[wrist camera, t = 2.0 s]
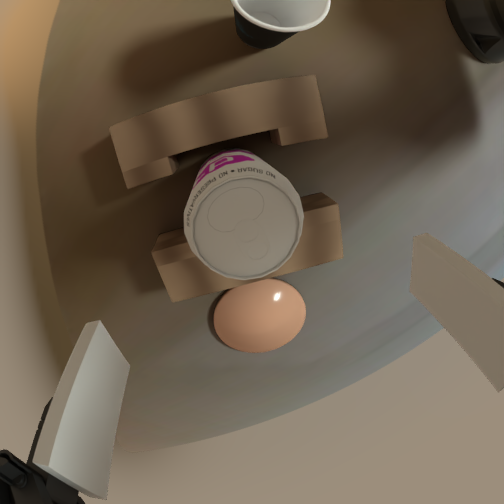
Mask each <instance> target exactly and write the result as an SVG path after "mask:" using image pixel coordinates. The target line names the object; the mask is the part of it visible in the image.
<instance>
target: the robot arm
mask: <svg viewBox="0 0 504 504" xmlns="http://www.w3.org/2000/svg"><path fill="white" fill-rule="evenodd" d="M446 5H447V9H448V13H449V16H450V18H451V21H452V23H453V25H454V27H455V29H456V31H457V33H458V35H459V36H460V38H461V40H462V41H463V43H464V44H465V45H466V47H467V48H468V49H469V50H470V52H471V53H472V54H473V55H474V56H475V57H477V58H478V59H479V60H481V61H482V62H485V63H500V62H503V61H504V0H446ZM410 292H411V293H412V294H413V295H414V296H415V297H416V298H417V299H418V300H419V301H420V302H421V303H422V304H423V305H424V306H425V308H426V309H427V310H428V311H429V312H430V313H431V314H432V315H433V316H434V317H435V318H436V319H437V320H438V321H439V322H440V324H441V325H442V326H443V327H444V328H445V329H446V330H447V331H448V332H449V333H450V335H451V336H452V337H453V338H454V339H455V340H456V341H457V343H458V344H459V345H460V346H461V347H462V348H463V349H464V351H465V352H466V353H467V354H468V355H469V357H470V358H471V359H472V360H473V361H474V362H475V364H476V365H477V366H478V367H479V369H480V370H481V371H482V372H483V373H484V375H485V376H486V377H487V379H488V380H489V381H490V382H491V384H492V385H493V386H494V387H495V389H496V390H497V391H498V392H499V391H501V390H502V389H503V388H504V283H503V282H501V281H499V280H496V279H494V278H492V279H491V278H490V277H489V276H487V275H486V274H485V273H484V272H482V271H481V270H480V269H478V268H477V267H476V266H474V265H473V264H471V263H470V262H469V261H467V260H466V259H465V258H463V257H462V256H460V255H459V254H458V253H456V252H455V251H453V250H452V249H450V248H449V247H447V246H446V245H445V244H443V243H442V242H440V241H439V240H437V239H436V238H434V237H432V236H431V235H429V234H428V233H424V234H421V235H418V236H415V237H413V256H412V270H411V282H410ZM129 369H130V365H129V363H128V362H127V361H126V359H125V358H124V356H123V355H122V353H121V352H120V350H119V349H118V347H117V346H116V344H115V343H114V341H113V340H112V338H111V337H110V335H109V334H108V332H107V330H106V329H105V327H104V326H103V324H102V322H101V321H100V320H98V321H93V322H89V323H86V324H85V326H84V328H83V330H82V332H81V335H80V337H79V339H78V341H77V343H76V345H75V347H74V349H73V352H72V354H71V356H70V358H69V360H68V363H67V365H66V368H65V370H64V372H63V374H62V377H61V379H60V382H59V384H58V386H57V389H56V392H55V394H54V397H52V398H51V400H50V401H49V402H48V404H47V405H46V406H45V408H44V411H43V414H42V417H41V421H40V423H39V425H38V430H37V431H36V434H35V438H34V440H33V444H32V447H31V451H30V454H29V457H28V460H27V463H26V464H25V463H24V462H23V461H21V460H20V459H18V458H17V457H16V456H14V455H13V454H12V453H11V452H9V451H8V450H1V451H0V504H85V502H84V501H83V500H82V499H81V497H79V496H78V492H79V491H80V492H81V493H83V494H85V495H87V496H89V497H93V498H98V499H104V500H107V492H108V483H109V475H110V467H111V460H112V454H113V447H114V441H115V435H116V430H117V424H118V419H119V414H120V409H121V404H122V399H123V395H124V390H125V386H126V381H127V377H128V373H129Z"/></svg>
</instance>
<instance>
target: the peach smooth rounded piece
mask: <svg viewBox="0 0 504 504" xmlns="http://www.w3.org/2000/svg"><path fill="white" fill-rule="evenodd" d="M305 317H306V307H305V303H304V301H303V299H302V297H301V295H300V293H299V292H298V291H297V290H296V288H294V287H293V286H292V285H291V284H289V283H287V282H285V281H283V280H280V279H276V278H269V279H265V280H261V281H257V282H253V283H249V284H246V285H242V286H238V287H234V288H230V289H229V290H227V291H226V292H225V293H224V294H223V295H222V297H221V298H220V299H219V301H218V303H217V305H216V307H215V311H214V327H215V330H216V332H217V334H218V336H219V337H220V339H221V340H222V341H223V342H224V343H226V344H227V345H228V346H230V347H232V348H234V349H236V350H239V351H243V352H250V353H259V352H266V351H270V350H274V349H276V348H279V347H281V346H283V345H285V344H286V343H288V342H289V341H290V340H292V339H293V338H294V337H295V336H296V335H297V334H298V332H299V331H300V329H301V328H302V326H303V324H304V321H305Z"/></svg>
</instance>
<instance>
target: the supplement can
mask: <svg viewBox="0 0 504 504" xmlns="http://www.w3.org/2000/svg"><path fill="white" fill-rule="evenodd" d="M303 219H304V213H303V209H302V204H301V200H300V196H299V194H298V193H297V192H296V190H295V189H294V187H293V186H292V184H291V183H290V181H289V180H288V179H287V178H286V177H285V176H283V175H282V174H281V173H279V172H278V171H277V170H275V169H274V168H273V167H271V166H270V165H269V164H267V163H266V162H265V161H263V160H262V159H261V158H259V157H258V156H256V155H255V154H253V153H251V152H250V151H248V150H244V149H239V148H229V149H222V150H220V151H218V152H216V153H214V154H213V155H211V156H209V158H208V159H207V160H206V161H205V162H204V163H203V164H202V165H201V167H200V170H199V172H198V175H197V177H196V180H195V183H194V185H193V188H192V191H191V193H190V196H189V199H188V202H187V204H186V207H185V210H184V233H185V236H186V238H187V241H188V243H189V246H190V248H191V250H192V252H193V253H194V254H195V255H196V256H197V257H198V258H199V259H200V260H201V261H202V262H203V263H204V265H206V266H208V267H209V268H210V269H211V270H213V271H215V272H216V273H218V274H220V275H222V276H224V277H226V278H233V279H239V280H249V279H255V278H261V277H264V276H266V275H268V274H270V273H272V272H274V271H276V270H278V269H279V268H280V267H281V266H282V265H283V264H284V263H285V262H286V261H287V260H288V259H289V258H290V257H291V256H292V254H293V252H294V250H295V248H296V246H297V244H298V243H299V238H300V236H301V234H302V227H303Z"/></svg>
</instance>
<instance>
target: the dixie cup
mask: <svg viewBox="0 0 504 504" xmlns="http://www.w3.org/2000/svg"><path fill="white" fill-rule="evenodd" d="M231 2H232V4H233V6H234V14H235V23H236V31H237V34H238V36H239V37H240V39H241V40H242V41H243V42H244V43H246V44H247V45H249V46H251V47H254V48H259V49H266V48H272V47H274V46H276V45H278V44H280V43H281V42H283V41H284V40H286V39H288V38H289V37H291V36H293V35H294V34H296V33H298V32H299V31H303V30H307V29H309V28H312V27H314V26H316V25H317V24H319V23H320V22H321V21H322V20H323V19H324V18H325V17H326V15H327V13H328V11H329V8H330V0H231Z"/></svg>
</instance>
